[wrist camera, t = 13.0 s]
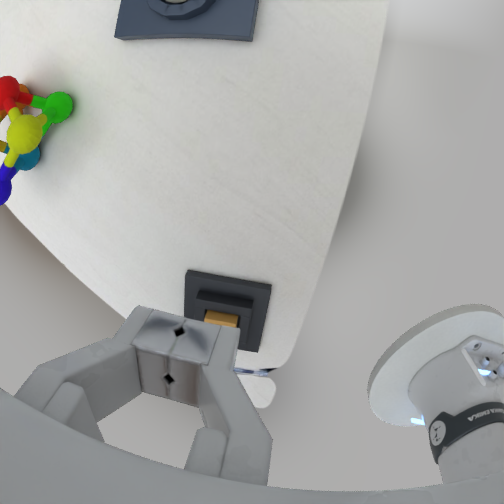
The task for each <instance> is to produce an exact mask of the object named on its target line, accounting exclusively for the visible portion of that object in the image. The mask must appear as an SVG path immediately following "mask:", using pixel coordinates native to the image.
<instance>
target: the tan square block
mask: <svg viewBox="0 0 504 504" xmlns="http://www.w3.org/2000/svg"><path fill="white" fill-rule="evenodd" d="M237 320H238V315H235V314H229V313H224V312H218V311H213V310H207V313H206V316H205V318H204V322H207V323H212V324H217V325H221V326H222V325H223V326H229V327H234V328H236V327H237Z"/></svg>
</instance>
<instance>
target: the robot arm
mask: <svg viewBox="0 0 504 504" xmlns="http://www.w3.org/2000/svg"><path fill="white" fill-rule="evenodd" d="M239 337H240V328H234V327H229V326H223V325H222V326H221V325H217V324H212V323H207V322H203V321H198V320H193V319H189V318H185V317H181V316H178V315H174V314H170V313H167V312H163V311H159V310H156V309H155V310H154V309H151V308H147V307H144V306H140V305H139V306H137V307H135V308H134V310H133V311H132V312H131V314H130V315H129V316H128V318H127V319H126V321H125V322H124V323H123V325H122V326H121V327H120V329H119V330H118V332H117V333H116V334H115V336H114V337H113V338H112V339H110V338H106V339H103V340H101V341H98V342H96V343H93V344H91V345H88V346H86V347H83V348H81V349H79V350H76V351H74V352H71V353H68V354H66V355H64V356H61V357H58V358H56V359H53V360H51V361H48V362H46V363H43V364H41V365H39V366H37V368H36V369H35V370H34V371H33V373H32V374H31V375H30V376H29V378H28V379H27V380H26V381H25V383H24V384H23V385H22V386H21V388H20V389H19V390H18V392H17V393H16V394H15V395H14V396H12V395H10V394H9V393H7V392H6V391H4V390H3V389H1V388H0V504H504V345H502V344H499V343H497V342H494V341H491V340H488V339H485V338H482V337H479V336H476V335H472V336H470V337H468V338H467V339H465V340H464V341H463V342H461V343H460V344H459V345H458V346H456V347H455V348H453V349H451V350H448V351H446V352H444V353H442V354H440V355H439V356H437V357H435V358H434V359H432V360H431V361H429V362H428V363H427V364H426V365H425V366H423V367H422V368H421V369H420V370H419V371H418V373H417V374H416V375H415V376H414V378H413V379H412V381H411V383H410V385H409V388H408V397H409V399H410V400H411V402H412V403H413V404H414V406H415V407H416V409H417V411H418V413H419V415H420V416H421V418H422V420H419V419H414V418H412V419H411V421H412V423H417V424H422V425H425V427H426V429H427V431H428V433H429V440H430V446H431V450H432V453H433V458H434V460H435V462H436V464H438V465H439V468H440V472H441V476H442V481H443V484H440V485H433V486H426V487H418V488H409V489H398V490H384V491H356V492H355V491H346V492H345V491H314V490H300V489H289V488H279V487H271V486H267V482H268V473H269V465H270V458H271V450H272V441H273V439H272V437H271V435H270V434H269V432H268V430H267V428H266V427H265V425H264V423H263V422H262V420H261V418H260V416H259V414H258V413H257V411H256V409H255V407H254V405H253V404H252V402H251V400H250V398H249V396H248V395H247V393H246V391H245V389H244V387H243V385H242V384H241V382H240V380H239V378H238V376H237V374H236V372H234V366H235V361H236V355H237V349H238V343H239ZM141 392H145V393H148V394H152V395H155V396H159V397H163V398H167V399H171V400H174V401H177V402H180V403H184V404H188V405H191V406H194V407H198V408H199V411H200V413H201V416H202V419H203V422H204V425H205V427H203V428H201V429H198V430H197V432H196V435H195V438H194V441H193V444H192V447H191V450H190V453H189V456H188V459H187V462H186V465H185V468H184V469H180V468H177V467H173V466H170V465H166V464H163V463H160V462H156V461H153V460H150V459H147V458H144V457H141V456H138V455H135V454H133V453H130V452H127V451H124V450H122V449H119V448H117V447H114V446H111V445H109V444H106V443H104V439H103V437H102V434H101V432H100V430H99V427H98V425H97V422H98V421H100V420H102V419H103V418H105V417H106V416H108V415H109V414H111V413H112V412H114V411H116V410H117V409H119V408H120V407H122V406H123V405H125V404H126V403H127V402H129V401H131V400H132V399H133V398H135V397H137V396H138V395H140V394H141Z"/></svg>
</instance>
